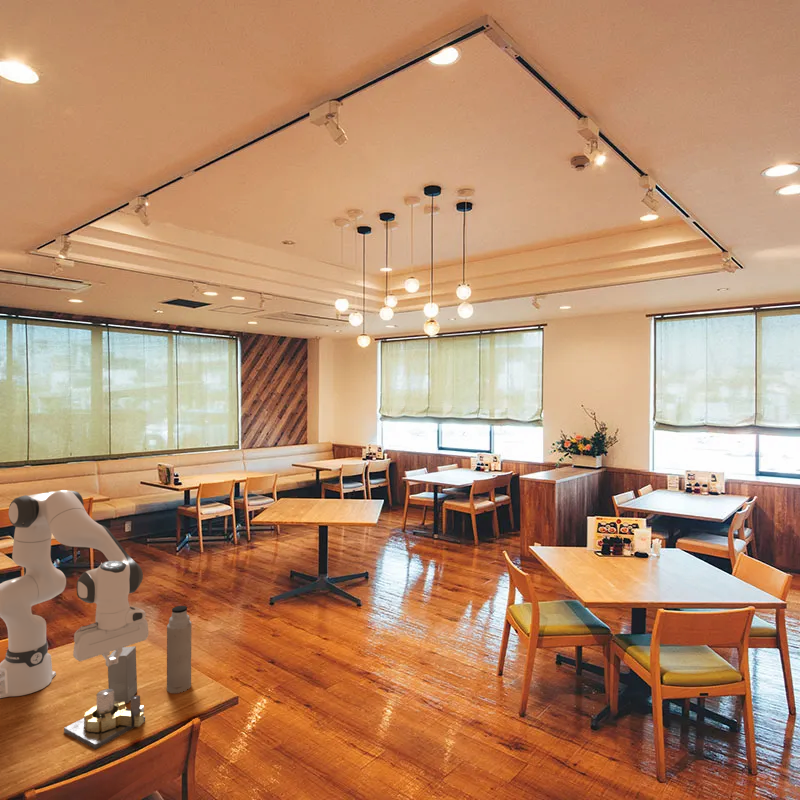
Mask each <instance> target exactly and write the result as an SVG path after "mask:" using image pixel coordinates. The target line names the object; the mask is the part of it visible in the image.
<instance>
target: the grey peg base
mask: <svg viewBox="0 0 800 800" xmlns="http://www.w3.org/2000/svg"><path fill="white" fill-rule="evenodd" d="M96 705H97V718H105V714H108V713H111V715H113V714H114V690H113V689H109V688H106V689H103V690H100V691H98V692H97V693H96ZM126 711H131V709H129V708H127V707H126ZM140 712H144V713H145V705H143V704H142V705H141V704H140ZM143 723H146V716H145V715H144V722H143ZM134 728H137V727H136V726H125V725H119V726H116V728H112V729H109V730H106V731H103V732H101V731H100V732H89V731H87V730H86V729H85V726H84V717H82V718H81V719H79V720H76V721H75V722H73V723H71V724H69V725H67V726H64V728H63V733H64V735H65V734H66V735H67V736H69V737H72V738H73V739H75V740H77V741H79V742H81V743H83V744H84V745H85V746H86V745H87V746H88V747H90V748H91V749H94V750H97V749H99V748H101V747H103V746H104V745H106V744H108V743H110V742H112V741H114V740H115V739H117V738H119V737H120V736H122V735H124V734H126V733H127V732H130V731H131V730H133V729H134Z"/></svg>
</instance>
